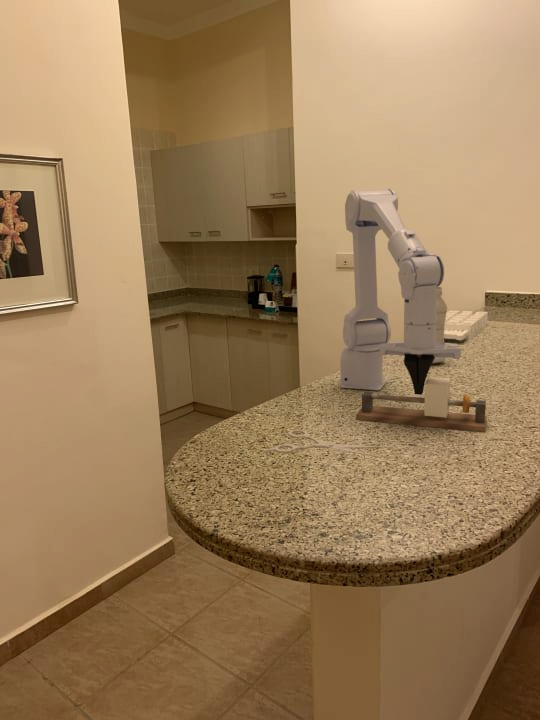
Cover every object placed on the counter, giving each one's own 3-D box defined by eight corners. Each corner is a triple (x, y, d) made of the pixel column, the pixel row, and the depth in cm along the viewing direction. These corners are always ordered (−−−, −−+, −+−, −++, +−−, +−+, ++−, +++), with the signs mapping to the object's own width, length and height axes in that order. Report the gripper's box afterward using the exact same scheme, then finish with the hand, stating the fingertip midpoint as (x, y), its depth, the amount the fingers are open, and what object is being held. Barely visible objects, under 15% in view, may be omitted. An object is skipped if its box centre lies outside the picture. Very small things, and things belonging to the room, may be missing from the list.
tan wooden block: (424, 415, 101) (424, 383, 100) (427, 408, 105) (428, 377, 103) (446, 417, 99) (447, 385, 98) (449, 409, 103) (450, 378, 102)
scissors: (284, 428, 103) (390, 438, 95) (284, 432, 103) (390, 442, 95) (262, 450, 93) (377, 463, 85) (262, 454, 93) (377, 468, 86)
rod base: (356, 419, 106) (355, 392, 105) (363, 409, 111) (363, 383, 110) (484, 432, 96) (486, 402, 95) (486, 420, 102) (487, 392, 100)
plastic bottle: (419, 365, 142) (420, 289, 137) (422, 359, 148) (423, 286, 143) (444, 366, 140) (446, 289, 135) (446, 360, 146) (448, 286, 141)
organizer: (488, 312, 190) (465, 330, 161) (487, 325, 191) (464, 346, 162) (449, 310, 197) (421, 327, 168) (449, 323, 198) (421, 343, 169)
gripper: (375, 325, 99) (376, 396, 102) (459, 327, 93) (457, 402, 96) (384, 318, 105) (384, 385, 108) (463, 320, 99) (460, 391, 102)
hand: (418, 393), depth 103 cm, fingers closed
